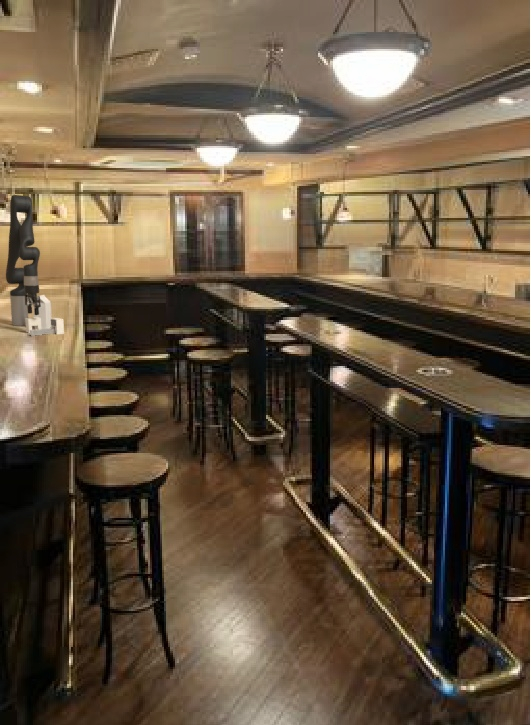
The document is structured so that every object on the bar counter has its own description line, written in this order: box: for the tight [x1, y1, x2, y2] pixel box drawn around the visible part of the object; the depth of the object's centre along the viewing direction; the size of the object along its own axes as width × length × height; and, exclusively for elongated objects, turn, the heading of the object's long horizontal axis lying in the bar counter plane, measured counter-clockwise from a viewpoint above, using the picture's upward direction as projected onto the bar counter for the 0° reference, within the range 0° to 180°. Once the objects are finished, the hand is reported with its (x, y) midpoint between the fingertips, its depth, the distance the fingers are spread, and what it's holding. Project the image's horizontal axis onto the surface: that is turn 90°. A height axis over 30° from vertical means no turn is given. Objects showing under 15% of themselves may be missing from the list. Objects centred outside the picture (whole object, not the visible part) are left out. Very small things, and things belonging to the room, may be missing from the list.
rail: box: [29, 328, 56, 337], centre depth 335 cm, size 2×17×3 cm, turn 134°
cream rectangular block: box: [25, 316, 41, 334], centre depth 340 cm, size 7×4×8 cm, turn 134°
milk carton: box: [33, 294, 53, 329], centre depth 353 cm, size 7×7×19 cm
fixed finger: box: [51, 317, 65, 335], centre depth 339 cm, size 7×4×8 cm, turn 44°
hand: (33, 314), depth 338 cm, fingers open, 8 cm apart
